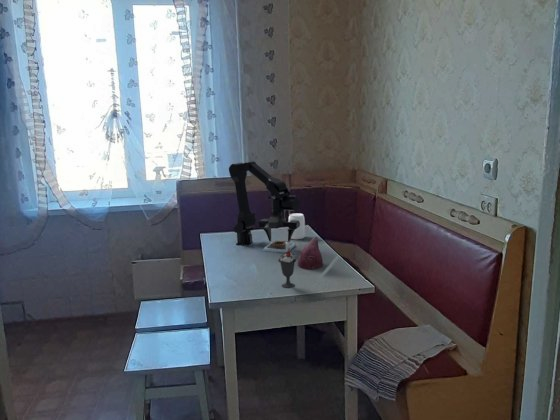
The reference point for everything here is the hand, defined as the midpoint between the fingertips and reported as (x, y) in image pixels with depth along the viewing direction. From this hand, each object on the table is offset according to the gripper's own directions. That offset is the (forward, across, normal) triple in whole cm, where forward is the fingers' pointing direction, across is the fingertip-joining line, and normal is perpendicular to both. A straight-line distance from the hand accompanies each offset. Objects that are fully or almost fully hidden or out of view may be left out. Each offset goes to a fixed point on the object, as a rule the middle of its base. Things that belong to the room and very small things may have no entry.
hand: (279, 241), depth 229 cm
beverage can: (+4, +1, +23) cm, 23 cm away
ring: (+4, 0, 0) cm, 4 cm away
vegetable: (+4, +21, -21) cm, 30 cm away
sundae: (+4, +19, -43) cm, 47 cm away
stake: (+4, +8, -11) cm, 14 cm away
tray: (+4, 0, 0) cm, 4 cm away
